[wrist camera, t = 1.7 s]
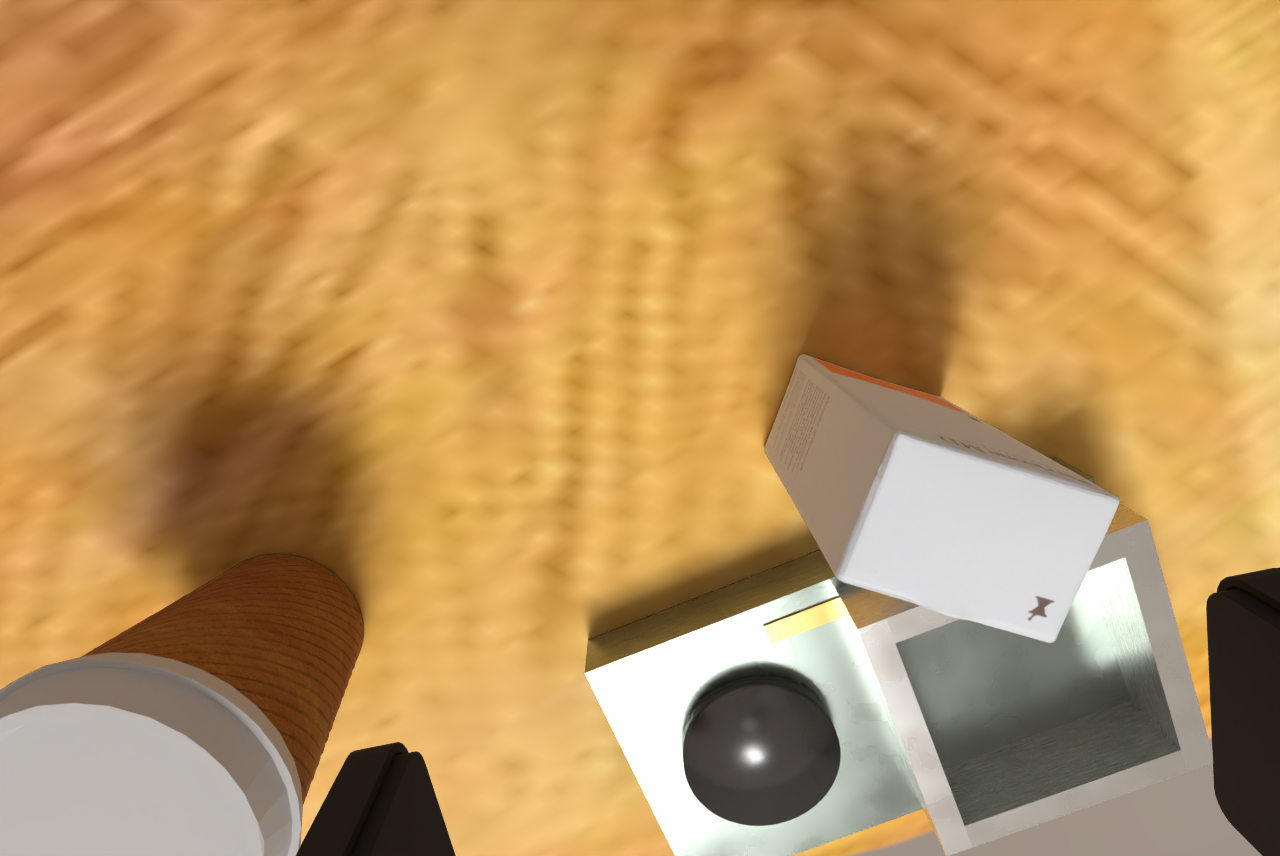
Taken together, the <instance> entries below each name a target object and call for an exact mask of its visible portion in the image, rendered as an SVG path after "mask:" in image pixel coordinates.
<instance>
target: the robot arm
mask: <svg viewBox="0 0 1280 856" xmlns="http://www.w3.org/2000/svg"><path fill="white" fill-rule="evenodd" d="M1206 610H1207V633H1208V656H1209V679H1210V702H1211V725H1212V748H1213V769H1214V770H1213V772H1214V789H1215V795H1216V798H1217V801H1218V803H1219V805H1220V807H1221V810H1222V812H1223V813H1224V815H1225V816H1226V818H1227V819H1228V821H1229V822H1230V823H1231V824H1232V825H1233V827H1234V828H1236V830H1237V831H1239V832H1240V833H1241V835H1243V837H1245V839H1246V840H1247V841H1248V842H1250V844H1252V845H1253V847H1254V848H1255V849H1256V850H1257V851H1258V852H1260V854H1262V856H1280V568H1271V569H1266V570H1261V571H1256V572H1251V573H1246V574H1241V575H1236V576H1231V577H1226V578H1225V579H1223V580H1222V581H1221V582H1220V584H1219V586H1218V588H1217V593H1213V594H1212V595H1210V596H1209V598H1208V600H1207V607H1206ZM296 856H455V853H454V850H453V847H452V844H451V841H450V838H449V835H448V831H447V828H446V825H445V822H444V819H443V816H442V813H441V810H440V807H439V804H438V801H437V798H436V795H435V792H434V789H433V786H432V783H431V780H430V777H429V773H428V770H427V767H426V764H425V762H424V759H423V757H422V755H421V754H420V753H419V752H411V753H408V751H407V749H406V747H405V746H404V745H403V744H402V743H399V742H397V743H391V744H386V745H381V746H376V747H371V748H366V749H361V750H356V751H354V752H351V753H350V755H349V756H348V757H347V759H346V761H345V762H344V764H343V766H342V768H341V770H340V772H339V774H338V776H337V778H336V780H335V781H334V783H333V785H332V787H331V789H330V791H329V793H328V795H327V797H326V799H325V801H324V802H323V804H322V806H321V808H320V810H319V812H318V814H317V816H316V818H315V820H314V821H313V823H312V825H311V827H310V829H309V831H308V833H307V835H306V837H305V839H304V840H303V842H302V844H301V846H300V848H299V850H298V852H297V854H296Z"/></svg>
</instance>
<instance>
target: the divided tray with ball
mask: <svg viewBox="0 0 1280 856" xmlns="http://www.w3.org/2000/svg"><path fill="white" fill-rule="evenodd" d="M1053 461H1055V462H1057V463H1059V464H1060V465H1062V466H1064V467H1066V468H1068V469H1070V470H1071V471H1073V472H1075V473H1077V474H1078V475H1080V476H1082V477H1084V478H1085V479H1087V480H1089V481H1091V482H1092V483H1094V481H1093V478H1092V477H1090V476H1089V475H1087V474H1085V473H1083V472H1082V471H1080V470H1078V469H1076V468H1074V467H1073V466H1071V465H1069V464H1067V463H1065V462H1064V461H1062V460H1060V459H1058V458H1055V459H1053ZM585 675H586V677H587V679H588V681H589V683H590V685H591V687H592V689H593V691H594V693H595V695H596V697H597V699H598V701H599V703H600V705H601V707H602V709H603V711H604V713H605V715H606V717H607V719H608V721H609V723H610V725H611V727H612V729H613V731H614V733H615V735H616V737H617V739H618V741H619V743H620V745H621V748H622V750H623V752H624V754H625V756H626V758H627V760H628V762H629V764H630V766H631V768H632V770H633V772H634V774H635V776H636V778H637V780H638V782H639V784H640V786H641V788H642V790H643V792H644V794H645V796H646V798H647V800H648V802H649V804H650V806H651V808H652V810H653V812H654V814H655V816H656V818H657V820H658V822H659V824H660V826H661V828H662V830H663V832H664V834H665V837H666V839H667V841H668V843H669V845H670V847H671V849H672V851H673V853H674V855H675V856H791V855H794V854H797V853H800V852H803V851H805V850H808V849H811V848H814V847H817V846H819V845H822V844H825V843H828V842H831V841H834V840H836V839H839V838H842V837H845V836H848V835H850V834H853V833H856V832H859V831H862V830H865V829H867V828H870V827H873V826H876V825H879V824H881V823H884V822H887V821H890V820H893V819H895V818H898V817H901V816H904V815H907V814H910V813H912V812H915V811H918V810H921V809H923V810H924V812H925V814H926V816H927V818H928V820H929V822H930V824H931V826H932V828H933V830H934V832H935V834H936V836H937V838H938V840H939V842H940V844H941V846H942V848H943V850H944V852H945V854H946V856H949V855H952V854H955V853H958V852H961V851H964V850H967V849H970V848H972V847H975V846H978V845H981V844H984V843H987V842H989V841H992V840H995V839H998V838H1001V837H1004V836H1007V835H1010V834H1013V833H1015V832H1018V831H1021V830H1024V829H1027V828H1030V827H1032V826H1035V825H1038V824H1041V823H1044V822H1047V821H1050V820H1053V819H1055V818H1058V817H1061V816H1064V815H1067V814H1069V813H1072V812H1076V811H1078V810H1081V809H1084V808H1087V807H1090V806H1093V805H1096V804H1098V803H1101V802H1104V801H1107V800H1110V799H1113V798H1116V797H1119V796H1121V795H1124V794H1127V793H1130V792H1133V791H1136V790H1138V789H1141V788H1144V787H1147V786H1150V785H1153V784H1156V783H1159V782H1161V781H1164V780H1167V779H1170V778H1173V777H1176V776H1178V775H1182V774H1184V773H1187V772H1190V771H1193V770H1196V769H1199V768H1201V767H1204V766H1207V765H1210V764H1213V753H1212V750H1211V746H1210V743H1209V739H1208V735H1207V732H1206V728H1205V725H1204V721H1203V717H1202V714H1201V710H1200V707H1199V703H1198V699H1197V696H1196V692H1195V689H1194V685H1193V681H1192V678H1191V674H1190V671H1189V667H1188V663H1187V660H1186V656H1185V653H1184V649H1183V645H1182V642H1181V638H1180V635H1179V631H1178V627H1177V624H1176V620H1175V617H1174V613H1173V609H1172V606H1171V602H1170V599H1169V595H1168V591H1167V588H1166V584H1165V581H1164V577H1163V573H1162V570H1161V566H1160V563H1159V559H1158V555H1157V552H1156V548H1155V545H1154V541H1153V537H1152V534H1151V530H1150V527H1149V523H1148V520H1147V519H1146V518H1144V517H1142V516H1140V515H1139V514H1137V513H1135V512H1133V511H1132V510H1130V509H1128V508H1127V507H1125V506H1123V505H1121V504H1120V503H1119V505H1118V507H1117V510H1116V512H1115V515H1114V517H1113V519H1112V521H1111V524H1110V526H1109V528H1108V530H1107V533H1106V535H1105V537H1104V539H1103V541H1102V543H1101V545H1100V547H1099V549H1098V551H1097V553H1096V555H1095V557H1094V559H1093V562H1092V564H1091V566H1090V568H1089V570H1088V572H1087V574H1086V576H1085V578H1084V580H1083V582H1082V584H1081V586H1080V588H1079V590H1078V592H1077V595H1076V597H1075V599H1074V601H1073V603H1072V605H1071V607H1070V609H1069V612H1068V614H1067V616H1066V618H1065V620H1064V622H1063V624H1062V627H1061V629H1060V631H1059V633H1058V636H1057V638H1056V641H1054V642H1052V643H1047V642H1044V641H1040V640H1037V639H1033V638H1030V637H1026V636H1023V635H1019V634H1016V633H1012V632H1009V631H1005V630H1002V629H998V628H994V627H991V626H987V625H984V624H981V623H977V622H973V621H969V620H962V619H957V618H953V617H950V616H946V615H943V614H940V613H937V612H934V611H932V610H929V609H927V608H925V607H922V606H919V605H917V604H914V603H911V602H908V601H905V600H901V599H898V598H894V597H891V596H888V595H885V594H881V593H878V592H874V591H871V590H867V589H864V588H861V587H857V586H854V585H850V584H847V583H844V582H842V581H840V580H838V579H837V578H836V576H835V575H834V573H833V571H832V569H831V567H830V566H829V564H828V562H827V560H826V559H825V557H824V555H823V553H822V551H821V550H819V551H816V552H813V553H811V554H808V555H806V556H803V557H801V558H798V559H795V560H793V561H790V562H788V563H785V564H783V565H780V566H777V567H775V568H772V569H770V570H767V571H765V572H762V573H760V574H757V575H754V576H752V577H749V578H747V579H744V580H742V581H739V582H736V583H734V584H731V585H729V586H726V587H724V588H721V589H718V590H716V591H713V592H711V593H708V594H706V595H703V596H700V597H698V598H695V599H693V600H690V601H688V602H685V603H682V604H680V605H677V606H675V607H672V608H670V609H667V610H664V611H662V612H659V613H657V614H654V615H652V616H649V617H646V618H644V619H641V620H639V621H636V622H634V623H631V624H628V625H626V626H623V627H621V628H618V629H616V630H613V631H610V632H608V633H605V634H603V635H600V636H598V637H595V638H592V639H590V640H588V646H587V656H586V666H585Z"/></svg>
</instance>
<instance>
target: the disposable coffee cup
mask: <svg viewBox="0 0 1280 856" xmlns="http://www.w3.org/2000/svg"><path fill="white" fill-rule="evenodd" d="M363 637H364V632H363V620H362V616H361V612H360V609H359V606H358V604H357V602H356V599H355V597H354V595H353V594H352V593H351V591H350V590H349V589H348V587H347V586H346V585H345V583H344V582H343V581H341V580H340V579H339V578H338V577H337V576H336V575H335V574H334V573H333V572H331V571H330V570H328V569H326V568H325V567H323V566H322V565H320V564H318V563H316V562H313V561H311V560H308V559H306V558H302V557H297V556H292V555H287V554H269V555H261V556H257V557H254V558H252V559H249V560H246V561H244V562H241V563H240V564H238V565H236V566H235V567H233V568H232V569H230V570H228V571H227V572H225V573H223V574H222V575H220V576H218V577H217V578H215V579H213V580H211V581H210V582H208V583H206V584H205V585H203V586H201V587H200V588H198V589H196V590H194V591H193V592H191V593H189V594H187V595H185V596H184V597H182V598H180V599H179V600H177V601H175V602H174V603H172V604H170V605H169V606H167V607H165V608H164V609H162V610H160V611H159V612H157V613H155V614H154V615H152V616H150V617H148V618H146V619H145V620H143V621H141V622H140V623H138V624H136V625H134V626H133V627H131V628H129V629H128V630H126V631H124V632H122V633H121V634H119V635H117V636H116V637H114V638H112V639H110V640H109V641H107V642H105V643H104V644H102V645H101V646H99V647H97V648H95V649H93V650H92V651H90V652H89V653H87V654H85V655H84V656H82V657H80V658H75V659H71V660H67V661H63V662H59V663H54V664H50V665H46V666H43V667H41V668H39V669H37V670H35V671H33V672H31V673H29V674H27V675H25V676H23V677H21V678H19V679H17V680H15V681H14V682H12V683H10V684H9V685H7V686H6V687H4V688H3V689H1V690H0V856H296V854H297V852H298V850H299V848H300V845H301V828H302V811H303V804H304V801H305V797H306V796H307V793H308V790H309V787H310V784H311V781H312V780H313V778H314V775H315V771H316V768H317V767H318V765H319V761H320V756H321V755H322V753H323V751H324V747H325V743H326V742H327V740H328V737H329V732H330V731H331V729H332V726H333V722H334V720H335V717H336V714H337V711H338V709H339V707H340V704H341V701H342V698H343V696H344V693H345V689H346V687H347V685H348V682H349V679H350V677H351V675H352V670H353V669H354V666H355V662H356V660H357V658H358V656H359V653H360V650H361V647H362V642H363Z"/></svg>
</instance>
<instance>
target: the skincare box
mask: <svg viewBox="0 0 1280 856" xmlns="http://www.w3.org/2000/svg"><path fill="white" fill-rule="evenodd" d="M764 451H765V454H766V455H767V457H768V459H769V461H770V463H771V464H772V466H773V467H774V470H775V471H776V473H777V474H778V476H779V478H780V480H781V481H782V483H783V485H784V487H785V488H786V490H787V492H788V494H789V495H790V497H791V499H792V500H793V502H794V504H795V506H796V507H797V509H798V511H799V513H800V514H801V516H802V518H803V519H804V521H805V523H806V525H807V527H808V528H809V530H810V532H811V534H812V535H813V537H814V539H815V540H816V542H817V544H818V546H819V548H820V550H821V551H822V553H823V555H824V557H825V559H826V560H827V562H828V564H829V566H830V567H831V569H832V571H833V573H834V575H835V576H836V578H837V579H838V580H840V581H842V582H844V583H847V584H850V585H854V586H857V587H861V588H864V589H867V590H871V591H874V592H878V593H881V594H885V595H888V596H891V597H894V598H898V599H901V600H905V601H908V602H911V603H914V604H917V605H919V606H922V607H925V608H927V609H929V610H932V611H934V612H937V613H940V614H943V615H946V616H950V617H953V618H957V619H962V620H969V621H973V622H977V623H981V624H984V625H987V626H991V627H994V628H998V629H1002V630H1005V631H1009V632H1012V633H1016V634H1019V635H1023V636H1026V637H1030V638H1033V639H1037V640H1040V641H1044V642H1047V643H1052V642H1054V641H1056V638H1057V636H1058V633H1059V631H1060V629H1061V627H1062V624H1063V622H1064V620H1065V618H1066V616H1067V614H1068V612H1069V609H1070V607H1071V605H1072V603H1073V601H1074V599H1075V597H1076V595H1077V592H1078V590H1079V588H1080V586H1081V584H1082V582H1083V580H1084V578H1085V576H1086V574H1087V572H1088V570H1089V568H1090V566H1091V564H1092V562H1093V559H1094V557H1095V555H1096V553H1097V551H1098V549H1099V547H1100V545H1101V543H1102V541H1103V539H1104V537H1105V535H1106V533H1107V530H1108V528H1109V526H1110V524H1111V521H1112V519H1113V517H1114V515H1115V512H1116V510H1117V507H1118V505H1119V502H1120V500H1119V498H1118V497H1117V496H1115V495H1114V494H1112V493H1110V492H1108V491H1106V490H1104V489H1103V488H1101V487H1099V486H1098V485H1096V484H1094V483H1092V482H1091V481H1089V480H1087V479H1085V478H1084V477H1082V476H1080V475H1078V474H1077V473H1075V472H1073V471H1071V470H1070V469H1068V468H1066V467H1064V466H1062V465H1060V464H1059V463H1057V462H1055V461H1053V460H1052V459H1050V458H1048V457H1046V456H1045V455H1043V454H1041V453H1039V452H1037V451H1036V450H1034V449H1032V448H1030V447H1029V446H1027V445H1025V444H1023V443H1022V442H1020V441H1018V440H1016V439H1014V438H1013V437H1011V436H1009V435H1008V434H1006V433H1004V432H1002V431H1001V430H999V429H997V428H995V427H993V426H991V425H990V424H988V423H986V422H984V421H982V420H980V419H978V418H977V417H975V416H973V415H972V414H970V413H968V412H967V411H965V410H963V409H961V408H959V407H958V406H956V405H954V404H952V403H951V402H949V401H947V400H945V399H944V398H942V397H939V396H936V395H932V394H928V393H925V392H921V391H918V390H914V389H911V388H907V387H904V386H901V385H897V384H894V383H890V382H887V381H884V380H880V379H877V378H874V377H870V376H867V375H864V374H861V373H858V372H855V371H852V370H850V369H846V368H843V367H841V366H838V365H835V364H832V363H829V362H826V361H823V360H820V359H817V358H814V357H811V356H808V355H805V354H801V355H800V356H799V357H798V359H797V362H796V365H795V368H794V371H793V374H792V377H791V380H790V382H789V385H788V388H787V390H786V393H785V395H784V398H783V401H782V403H781V406H780V408H779V411H778V414H777V416H776V419H775V422H774V424H773V427H772V430H771V432H770V435H769V438H768V440H767V443H766V446H765V449H764Z"/></svg>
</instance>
